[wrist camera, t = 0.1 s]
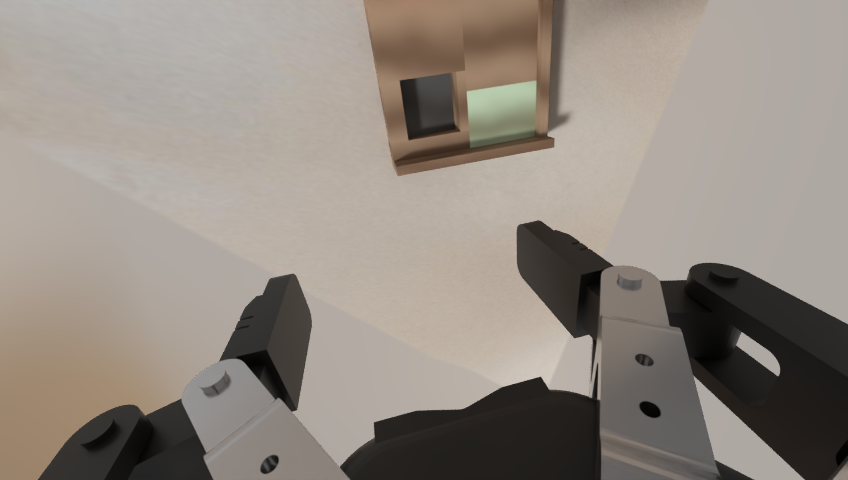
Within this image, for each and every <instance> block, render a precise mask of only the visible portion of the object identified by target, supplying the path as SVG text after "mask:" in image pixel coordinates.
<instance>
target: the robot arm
mask: <svg viewBox="0 0 848 480" xmlns="http://www.w3.org/2000/svg"><path fill="white" fill-rule="evenodd" d="M517 265H518V270H519V272H520V274H521V276H522V278H523V279H524V280H525V281H526V282H527V284H528V285H529V286H530V287H531V288H532V289H533V291H534V292H535V293H536V294H537V295H538V296H539V298H540V299H541V300H542V301H543V302H544V303H545V305H546V306H547V307H548V308H549V309H550V310H551V312H552V313H553V314H554V315H555V316H556V317H557V319H558V320H559V321H560V322H561V323H562V324H563V326H564V327H565V328H566V329H567V330H568V331H569V333H570V334H571V335H572V336H573V337H574V338H577V337H581V336H585V335H590V336H591V337H592V338H593V339H592V346H591V365H590V383H589V397H588V396H585V395H581V394H578V393H574V392H569V391H562V390H549V389H548V387H547V386H546V384H545V382H544V381H543V379H542V378H541V377H538V378H534V379H531V380H527V381H523V382H520V383H516V384H512V385H509V386H505V387H502V388H500V389H499V390H496V391H495V392H493V393H491V394H489V395H488V396H486V397H484V398H482V399H481V400H479V401H477V402H476V403H474V404H472V405H470V406H469V407H467V408H464V409H461V410H427V411H414V412H410V413H407V414H403V415H399V416H396V417H392V418H388V419H385V420H381V421H377V422H374V431H375V432H374V433H375V438H374V439H372V440H370V441H368V442H367V443H365V444H364V445H363V446H361V447H360V448H359V449H357V450H356V451H355V452H354V453H353V454H352V455H351V456H350V457H348V459H347V460H346V461H345V462H344V463H343V464H342V465H341V466H340V467H339V466H338V465H337V464H336V463H335V462H334V460H333V459H332V458H331V457H330V456H329V455H328V453H326V451H325V450H324V449H323V448H322V446H321V445H320V444H319V443H318V442H317V441H316V439H315V438H314V437H313V436H312V435H311V434H310V433H309V431H308V430H307V429H306V428H305V427H304V426H303V424H302V423H301V422H300V421H299V420H298V419H297V417H296V416H295V415H294V414H293V413H292V411H296V410H297V408H298V402H299V396H300V390H301V385H302V379H303V373H304V368H305V361H306V356H307V350H308V344H309V339H310V333H311V327H312V320H311V314H310V310H309V307H308V305H307V302H306V300H305V297H304V294H303V292H302V289H301V287H300V284H299V281H298V279H297V277H296V275H295V274H289V275H284V276H279V277H275V278H271V279H270V280H269V282H268V284H267V286H266V288H265V291H264V293H263V295H261V296H256V297H255V298H254V299H253V300H252V301H251V302H250V303H249V304H248V305H247V306H246V307H245V309H244V311H243V313H242V315H241V317H240V321H238V323H237V326H236V328H235V331H234V332H233V334H232V336H231V338H230V340H229V342H228V344H227V346H226V348H225V351H224V352H223V354H222V356H221V359H220V361H219V362H217V363H215V364H213V365H211V366H209V367H207V368H206V369H204V370H203V371H201V372H200V373H199V374H198V375H196V376H195V377H194V378H193V379H192V380H191V381H190V382H189V384H188V385H187V386H186V388H185V390H184V392H183V394H182V399H180V400H178V401H176V402H173V403H171V404H169V405H167V406H165V407H163V408H161V409H159V410H156V411H154V412H152V413H150V414H148V415H146V416H145V415H144V414H143V412H142V411H141V410H140V409H139V408H138V407H137V406H135V405H123V406H119V407H116V408H113V409H111V410H109V411H106V412H105V413H102V414H100V415H99V416H97V417H96V418H94V419H92V420H91V421H89V422H88V423H87V424H85V425H84V426H83V427H81V428H80V429H79V430H78V431H77V432H76V433H74V434H73V435H72V437H70V438H69V440H68V441H67V442H66V443H65V444H64V445H63V447H62V448H61V450H60V451H59V452H58V453H57V455H56V456H55V457H54V459H53V460H52V462H51V463H50V464H49V466H48V467H47V468H46V470H45V471H44V472H43V474H42V475H41V476H40V478H39V479H38V480H753V479H751V478H749V477H747V476H745V475H744V474H742V473H740V472H738V471H736V470H734V469H732V468H730V467H728V466H726V465H724V464H722V463H720V462H718V461H716V460H715V459H714V455H713V451H712V447H711V443H710V440H709V436H708V432H707V428H706V424H705V420H704V416H703V412H702V408H701V404H700V400H699V397H698V392H697V389H696V385H695V381H694V377H693V375H694V376H695V377H696V378H697V379H698V380H699V381H700V382H701V383H702V384H703V385H704V386H705V387H706V388H707V389H708V390H710V391H711V392H712V393H713V394H714V395H715V396H716V397H717V398H718V399H719V400H720V401H721V402H723V404H725V405H726V406H727V407H728V408H729V409H730V410H731V411H732V412H733V413H734V414H735V415H736V416H738V417H739V418H740V419H741V420H742V421H743V422H744V423H745V424H746V425H747V426H748V427H749V428H751V430H752V431H754V432H755V433H756V434H757V435H758V436H759V437H760V438H761V439H762V440H763V441H764V442H765V443H766V444H768V446H769V447H771V448H772V449H773V450H774V451H775V452H776V453H777V454H778V455H779V456H780V457H781V458H782V459H783V460H784V461H785V462H787V463H788V464H789V465H790V466H791V467H792V468H793V469H794V470H795V471H796V472H797V473H798V474H799V475H800V476H802V477H803V478H804V479H805V480H848V324H846V323H844V322H842V321H840V320H839V319H837V318H835V317H833V316H831V315H829V314H827V313H825V312H823V311H821V310H819V309H817V308H815V307H814V306H812V305H810V304H808V303H806V302H804V301H802V300H800V299H798V298H796V297H794V296H792V295H790V294H789V293H787V292H785V291H782V290H781V289H779V288H777V287H775V286H773V285H771V284H769V283H768V282H766V281H764V280H762V279H760V278H758V277H756V276H754V275H752V274H750V273H748V272H746V271H744V270H742V269H739V268H736V267H733V266H729V265H724V264H717V263H701V264H697V265H694V266H692V267H691V269H690V270H689V274H688V277H687V280H677V281H659V279H658V278H657V277H656V276H655V275H653V274H652V273H650V272H648V271H646V270H643V269H640V268H637V267H631V266H613V265H612V264H610V263H609V262H607V261H606V260H604V259H603V258H602V257H600V256H599V255H598V254H596V253H595V252H593V251H592V250H590V249H588V247H586V246H585V245H583V244H582V243H580V242H579V241H578V240H576V239H575V238H574V237H572V236H571V235H569V234H566V233H563V232H560V231H557V230H552V229H551V228H550V227H548V226H547V225H546V224H544V223H543V222H541V221H534V222H529V223H525V224H520V225H519V226H518V227H517ZM741 332H743V333H744V334H746V335H747V336H749V337H750V338H751V339H753V340H754V341H756V342H757V343H759V344H760V345H762V346H763V347H765V348H766V349H768V350H769V351H770V352H771V353H772V354H773V355H774V356H775V357H776V359H777V361H778V363H779V365H780V374H779V376H776V375H775V374H774V373H772V372H771V371H769V370H768V369H767V368H766V367H764V366H763V365H762V364H760V363H759V362H758V361H756V360H755V359H754V358H752V357H751V356H749V355H748V354H747V353H745V352H744V351H742V350H741V349H740V348H739V347H737V346H736V344H737V341H738V339H739V336H740V334H741Z"/></svg>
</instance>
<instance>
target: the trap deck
mask: <svg viewBox="0 0 848 480" xmlns="http://www.w3.org/2000/svg"><path fill="white" fill-rule="evenodd" d="M364 5H365V11H366V16H367V22H368V28H369V33H370V39H371V45H372V50H373V56H374V61H375V67H376V73H377V78H378V84H379V90H380V95H381V101H382V106H383V112H384V118H385V123H386V129H387V135H388V140H389V146H390V151H391V157H392V163H393V167H394V169H395V171H396V173H397V175H398V176H401V175H406V174H411V173H417V172H422V171H428V170H433V169H439V168H444V167H449V166H455V165H460V164H466V163H471V162H477V161H482V160H487V159H493V158H498V157H504V156H509V155H515V154H520V153H526V152H531V151H536V150H542V149H547V148H553V147H554V138H552V137H548V136H547V134H548V110H549V86H550V62H551V39H552V15H553V0H364Z"/></svg>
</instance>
